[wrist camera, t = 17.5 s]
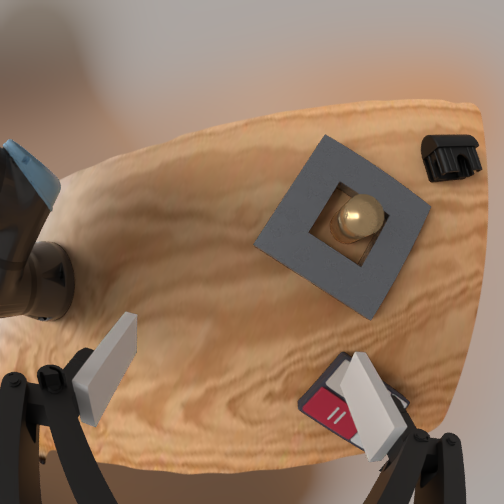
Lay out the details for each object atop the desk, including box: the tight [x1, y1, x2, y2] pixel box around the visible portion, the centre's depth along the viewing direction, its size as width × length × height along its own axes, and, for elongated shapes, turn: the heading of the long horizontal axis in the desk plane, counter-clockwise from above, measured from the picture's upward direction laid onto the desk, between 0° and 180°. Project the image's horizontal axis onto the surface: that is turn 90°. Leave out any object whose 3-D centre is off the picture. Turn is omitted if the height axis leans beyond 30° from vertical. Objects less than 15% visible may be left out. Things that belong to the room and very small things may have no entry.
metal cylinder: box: [330, 194, 384, 244], centre depth 38 cm, size 5×5×10 cm
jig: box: [253, 135, 431, 320], centre depth 42 cm, size 20×20×3 cm
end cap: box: [421, 135, 482, 182], centre depth 39 cm, size 10×7×7 cm
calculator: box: [298, 352, 410, 451], centre depth 40 cm, size 11×4×15 cm
